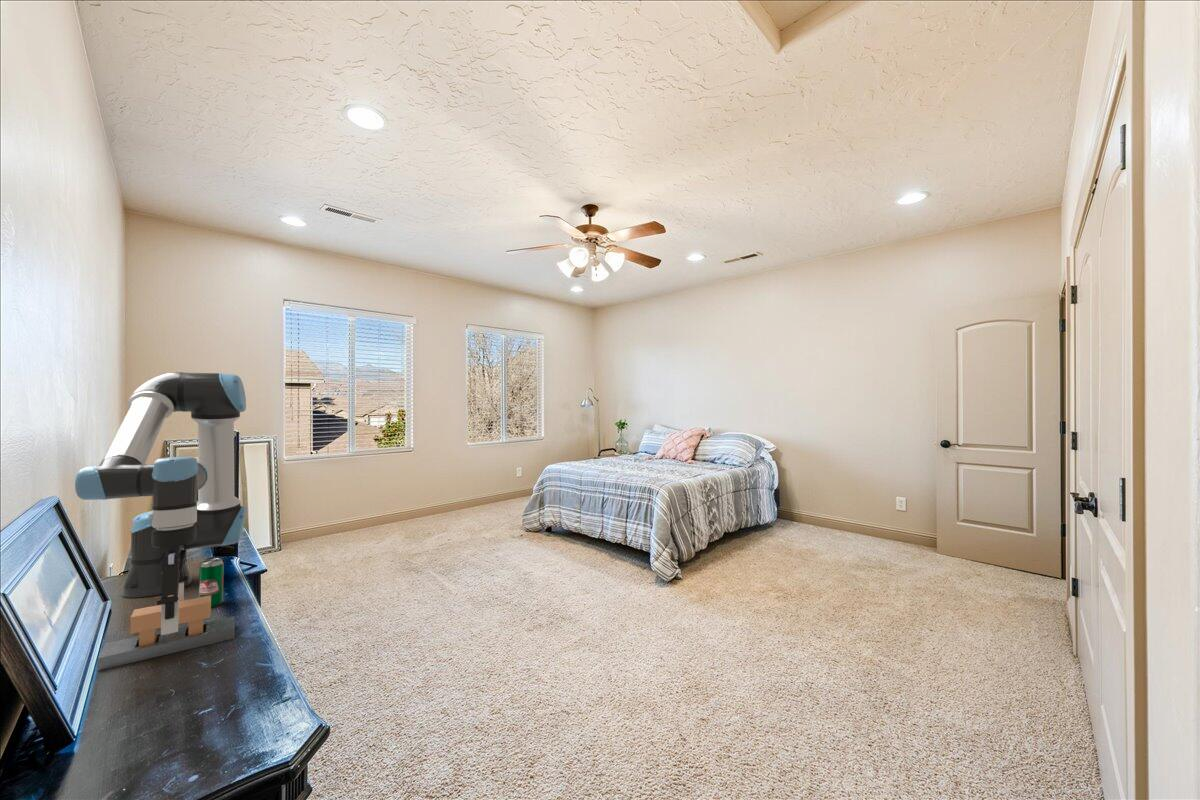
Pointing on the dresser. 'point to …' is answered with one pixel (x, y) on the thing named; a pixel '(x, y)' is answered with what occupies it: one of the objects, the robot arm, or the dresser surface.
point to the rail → (165, 643)
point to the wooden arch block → (188, 612)
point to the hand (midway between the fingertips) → (172, 621)
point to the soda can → (211, 580)
